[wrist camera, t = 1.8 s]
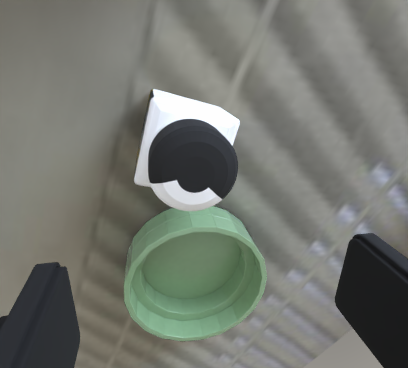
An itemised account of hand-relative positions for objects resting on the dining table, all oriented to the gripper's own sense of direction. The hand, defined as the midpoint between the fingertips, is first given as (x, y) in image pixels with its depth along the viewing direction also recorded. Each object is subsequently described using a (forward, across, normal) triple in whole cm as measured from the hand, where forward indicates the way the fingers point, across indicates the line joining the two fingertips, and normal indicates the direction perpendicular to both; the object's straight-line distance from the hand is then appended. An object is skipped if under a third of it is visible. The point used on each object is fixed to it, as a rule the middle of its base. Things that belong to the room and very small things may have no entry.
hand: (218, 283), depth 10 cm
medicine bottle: (+22, -1, 0) cm, 22 cm away
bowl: (+22, -2, +16) cm, 27 cm away
